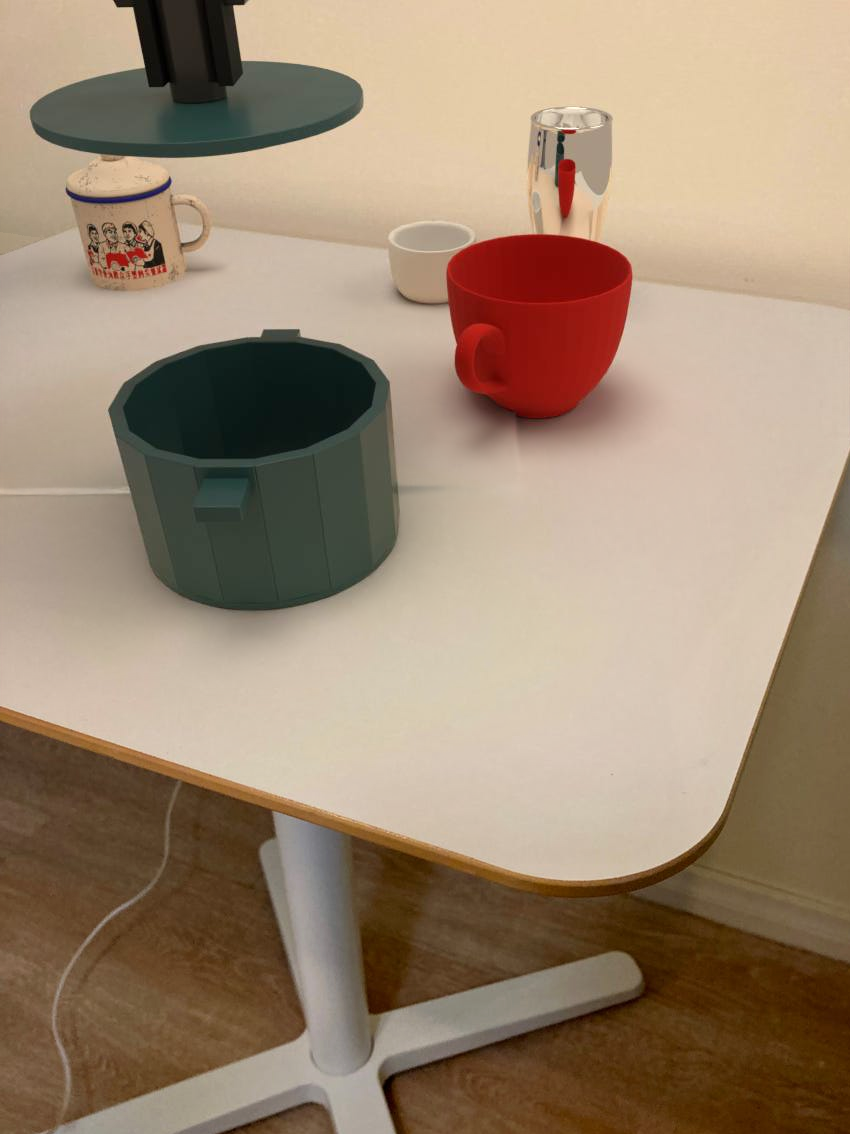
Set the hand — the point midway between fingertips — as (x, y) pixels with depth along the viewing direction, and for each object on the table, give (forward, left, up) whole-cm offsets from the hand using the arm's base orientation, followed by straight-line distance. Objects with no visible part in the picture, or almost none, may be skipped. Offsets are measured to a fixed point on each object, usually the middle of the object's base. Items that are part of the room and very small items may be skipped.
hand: (196, 79), depth 53 cm
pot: (+1, -5, -25) cm, 25 cm away
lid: (0, 0, -1) cm, 1 cm away
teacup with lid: (-17, +37, -25) cm, 48 cm away
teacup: (+9, +33, -25) cm, 43 cm away
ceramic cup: (+17, +11, -25) cm, 32 cm away
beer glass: (+21, +31, -25) cm, 45 cm away
